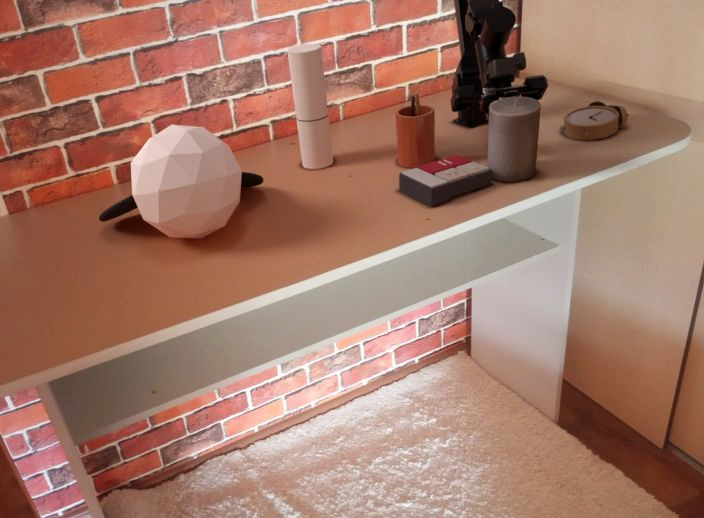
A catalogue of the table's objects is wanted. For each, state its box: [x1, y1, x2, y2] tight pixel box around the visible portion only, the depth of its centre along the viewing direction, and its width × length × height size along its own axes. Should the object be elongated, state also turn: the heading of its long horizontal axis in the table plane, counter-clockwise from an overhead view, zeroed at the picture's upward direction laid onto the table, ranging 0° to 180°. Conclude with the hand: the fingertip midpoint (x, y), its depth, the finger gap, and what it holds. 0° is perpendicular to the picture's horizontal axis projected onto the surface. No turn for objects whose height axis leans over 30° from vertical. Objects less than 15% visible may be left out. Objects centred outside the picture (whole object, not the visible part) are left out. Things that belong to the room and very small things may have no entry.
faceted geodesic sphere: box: [98, 124, 265, 239], centre depth 138 cm, size 35×30×22 cm
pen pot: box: [395, 104, 436, 169], centre depth 152 cm, size 8×8×11 cm
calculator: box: [398, 154, 493, 207], centre depth 141 cm, size 11×4×15 cm
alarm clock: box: [558, 100, 630, 141], centre depth 156 cm, size 11×5×15 cm
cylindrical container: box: [286, 43, 334, 170], centre depth 154 cm, size 7×7×25 cm
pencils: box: [410, 91, 421, 116], centre depth 151 cm, size 3×3×14 cm
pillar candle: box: [486, 96, 542, 183], centre depth 139 cm, size 10×10×15 cm
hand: (505, 132), depth 143 cm, fingers closed, pressing on pillar candle
